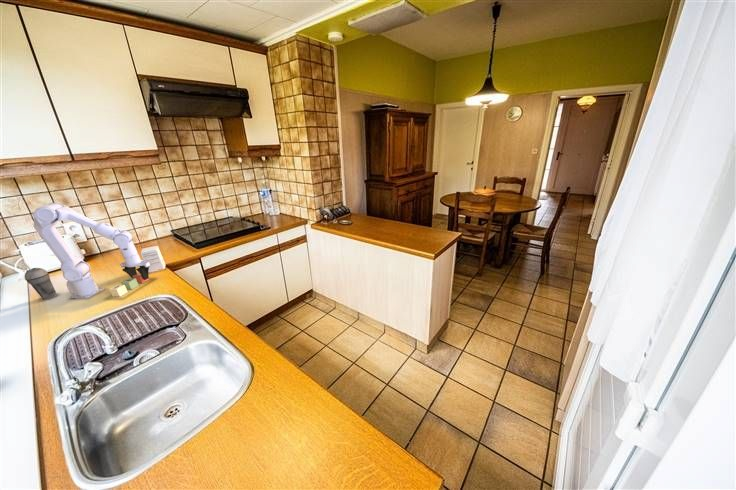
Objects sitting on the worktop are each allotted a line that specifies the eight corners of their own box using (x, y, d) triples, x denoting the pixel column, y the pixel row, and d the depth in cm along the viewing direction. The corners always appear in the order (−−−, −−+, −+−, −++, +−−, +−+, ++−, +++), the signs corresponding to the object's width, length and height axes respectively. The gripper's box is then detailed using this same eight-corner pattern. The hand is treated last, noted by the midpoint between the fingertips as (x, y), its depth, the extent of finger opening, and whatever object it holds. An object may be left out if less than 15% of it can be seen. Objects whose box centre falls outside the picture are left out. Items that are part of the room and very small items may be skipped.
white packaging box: (150, 268, 152) (142, 248, 147) (166, 264, 155) (158, 245, 150) (148, 273, 146) (139, 252, 141) (164, 269, 149) (156, 249, 144)
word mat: (106, 298, 124) (105, 297, 124) (139, 279, 140) (139, 278, 140) (123, 298, 123) (122, 297, 123) (155, 278, 139) (154, 278, 139)
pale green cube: (124, 289, 130) (120, 282, 128) (131, 285, 133) (128, 278, 132) (131, 289, 129) (128, 282, 128) (138, 285, 133) (135, 278, 131)
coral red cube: (135, 283, 135) (132, 276, 134) (142, 279, 139) (139, 272, 137) (142, 283, 135) (139, 276, 133) (149, 279, 139) (146, 272, 137)
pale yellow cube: (112, 296, 124) (108, 289, 123) (120, 291, 128) (117, 284, 126) (120, 296, 124) (116, 289, 122) (128, 291, 127) (124, 284, 126)
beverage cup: (63, 294, 129) (41, 257, 122) (42, 302, 123) (17, 264, 116) (57, 291, 132) (35, 255, 125) (36, 299, 126) (11, 262, 119)
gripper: (150, 251, 134) (160, 275, 139) (124, 251, 136) (135, 275, 141) (138, 257, 128) (149, 281, 133) (111, 257, 129) (123, 282, 134)
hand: (141, 278), depth 136 cm, fingers open, 5 cm apart
